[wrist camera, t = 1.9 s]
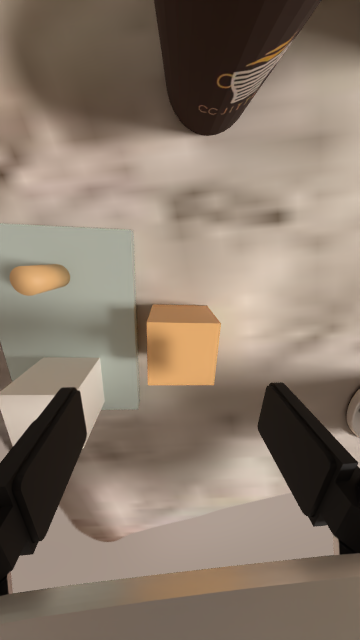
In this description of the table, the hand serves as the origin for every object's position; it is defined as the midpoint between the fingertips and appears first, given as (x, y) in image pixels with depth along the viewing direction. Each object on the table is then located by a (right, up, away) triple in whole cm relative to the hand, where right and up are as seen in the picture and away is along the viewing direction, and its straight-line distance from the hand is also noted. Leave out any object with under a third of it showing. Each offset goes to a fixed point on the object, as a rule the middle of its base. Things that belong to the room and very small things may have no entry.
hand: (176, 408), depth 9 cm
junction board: (-11, +4, +10) cm, 15 cm away
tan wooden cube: (0, +3, +11) cm, 11 cm away
